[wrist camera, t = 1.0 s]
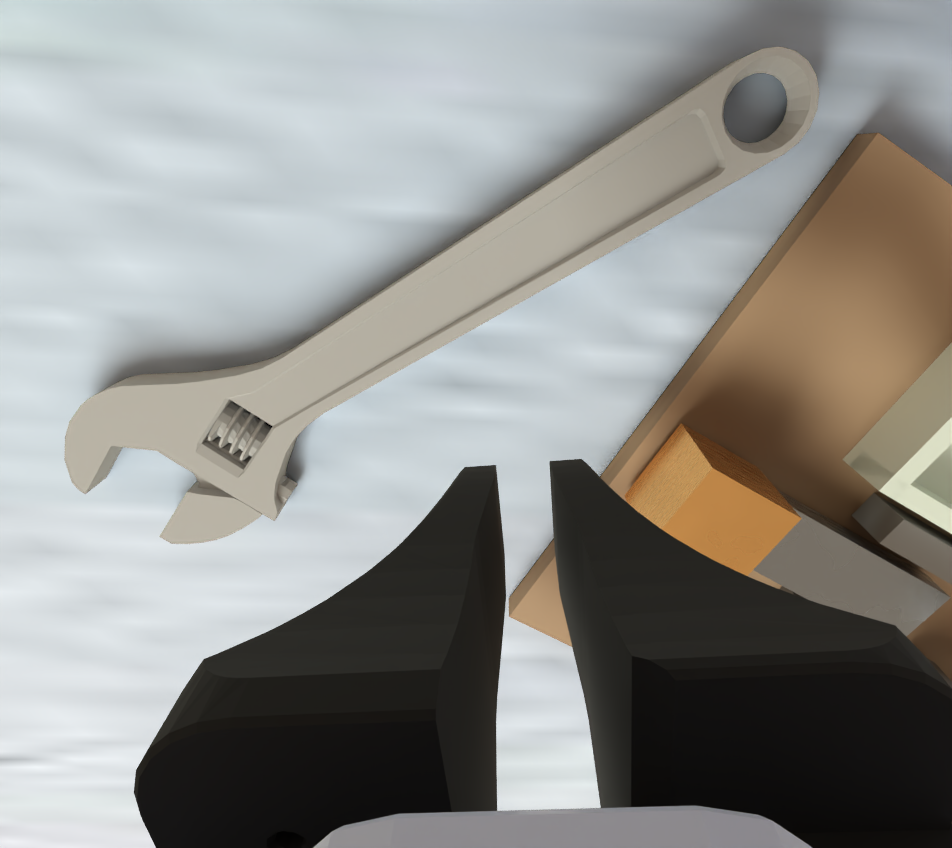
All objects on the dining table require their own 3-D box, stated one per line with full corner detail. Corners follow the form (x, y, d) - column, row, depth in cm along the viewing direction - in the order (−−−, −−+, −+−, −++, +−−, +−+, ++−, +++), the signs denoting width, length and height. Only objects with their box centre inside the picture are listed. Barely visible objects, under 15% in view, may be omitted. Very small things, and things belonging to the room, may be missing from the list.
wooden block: (681, 423, 18) (712, 468, 16) (933, 567, 20) (1001, 631, 17) (624, 495, 19) (644, 549, 17) (867, 627, 21) (922, 695, 18)
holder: (856, 134, 16) (918, 129, 14) (1378, 508, 20) (1496, 554, 18) (508, 598, 23) (509, 648, 21) (948, 812, 27) (992, 875, 24)
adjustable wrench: (774, 30, 16) (806, 15, 14) (832, 253, 18) (866, 262, 16) (65, 409, 21) (28, 430, 19) (178, 547, 23) (154, 576, 22)
